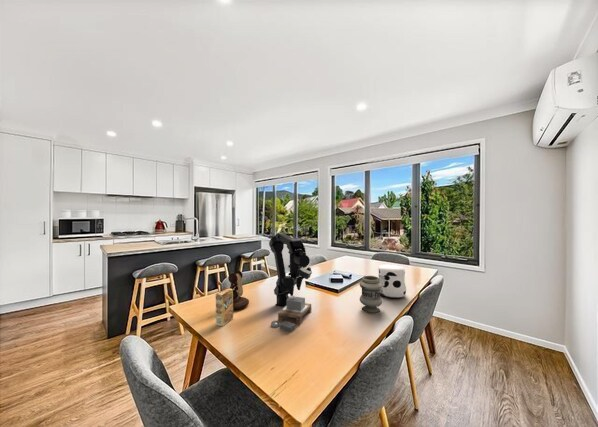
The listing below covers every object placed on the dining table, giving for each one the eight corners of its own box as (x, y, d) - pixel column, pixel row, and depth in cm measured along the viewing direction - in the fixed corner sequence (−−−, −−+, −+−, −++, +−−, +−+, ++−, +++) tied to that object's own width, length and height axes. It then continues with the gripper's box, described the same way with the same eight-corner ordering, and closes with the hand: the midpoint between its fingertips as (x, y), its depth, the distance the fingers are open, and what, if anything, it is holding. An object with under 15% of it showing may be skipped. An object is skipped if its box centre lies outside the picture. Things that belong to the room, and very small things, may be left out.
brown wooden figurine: (242, 312, 127) (242, 275, 127) (217, 310, 129) (217, 274, 129) (252, 302, 141) (252, 269, 141) (230, 300, 144) (229, 268, 144)
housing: (301, 310, 118) (300, 300, 118) (286, 308, 121) (286, 298, 121) (304, 306, 124) (304, 295, 124) (291, 304, 126) (290, 294, 126)
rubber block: (279, 329, 109) (279, 324, 108) (285, 326, 112) (285, 320, 112) (290, 333, 105) (290, 327, 105) (295, 329, 109) (295, 324, 109)
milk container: (408, 293, 153) (407, 266, 153) (403, 302, 138) (403, 272, 138) (380, 289, 162) (380, 263, 162) (374, 297, 148) (374, 268, 147)
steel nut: (269, 326, 111) (269, 323, 111) (273, 323, 115) (273, 320, 115) (276, 328, 109) (276, 325, 109) (280, 324, 113) (280, 321, 113)
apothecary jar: (355, 310, 128) (355, 277, 128) (365, 304, 137) (365, 273, 136) (376, 317, 120) (376, 282, 119) (386, 309, 128) (386, 277, 128)
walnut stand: (278, 320, 117) (278, 311, 117) (291, 308, 132) (291, 300, 132) (300, 324, 113) (300, 315, 113) (311, 311, 127) (311, 303, 127)
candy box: (223, 326, 111) (222, 294, 111) (215, 325, 112) (215, 293, 112) (233, 318, 120) (233, 288, 119) (226, 317, 121) (226, 288, 121)
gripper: (303, 268, 110) (303, 301, 111) (315, 260, 128) (315, 289, 128) (281, 266, 115) (282, 298, 115) (296, 259, 132) (296, 286, 132)
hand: (295, 292), depth 122 cm, fingers open, 9 cm apart
